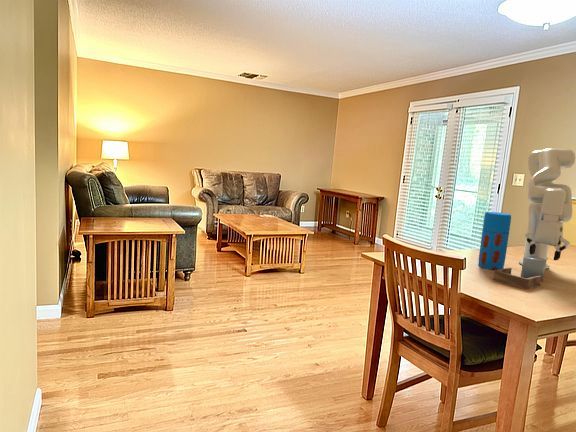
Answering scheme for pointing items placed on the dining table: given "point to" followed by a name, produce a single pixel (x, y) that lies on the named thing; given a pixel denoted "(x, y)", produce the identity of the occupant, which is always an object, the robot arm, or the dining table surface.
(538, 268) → the grey-blue mug
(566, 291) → the dining table surface
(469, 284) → the dining table surface
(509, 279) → the caddy
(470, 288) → the dining table surface
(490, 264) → the blue domino block
